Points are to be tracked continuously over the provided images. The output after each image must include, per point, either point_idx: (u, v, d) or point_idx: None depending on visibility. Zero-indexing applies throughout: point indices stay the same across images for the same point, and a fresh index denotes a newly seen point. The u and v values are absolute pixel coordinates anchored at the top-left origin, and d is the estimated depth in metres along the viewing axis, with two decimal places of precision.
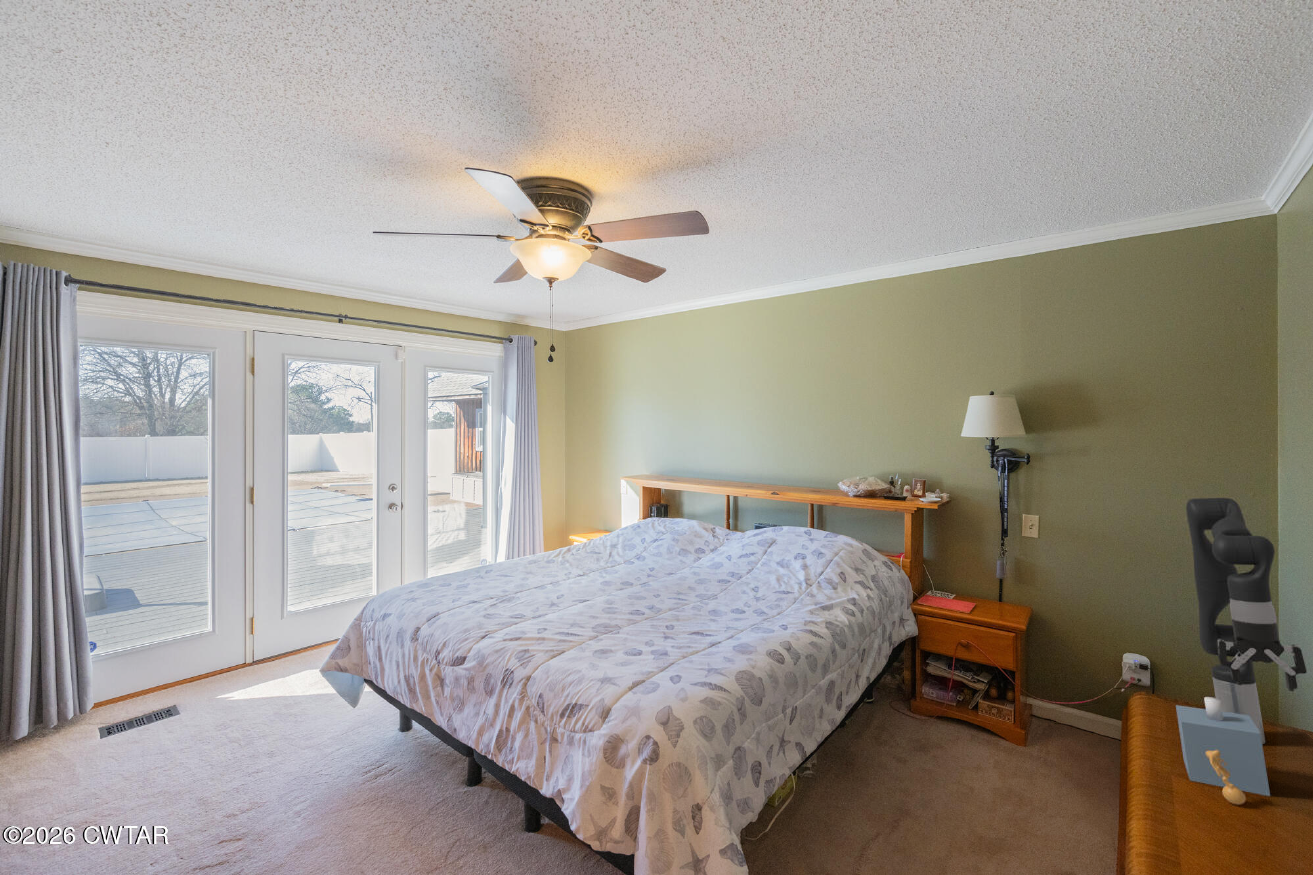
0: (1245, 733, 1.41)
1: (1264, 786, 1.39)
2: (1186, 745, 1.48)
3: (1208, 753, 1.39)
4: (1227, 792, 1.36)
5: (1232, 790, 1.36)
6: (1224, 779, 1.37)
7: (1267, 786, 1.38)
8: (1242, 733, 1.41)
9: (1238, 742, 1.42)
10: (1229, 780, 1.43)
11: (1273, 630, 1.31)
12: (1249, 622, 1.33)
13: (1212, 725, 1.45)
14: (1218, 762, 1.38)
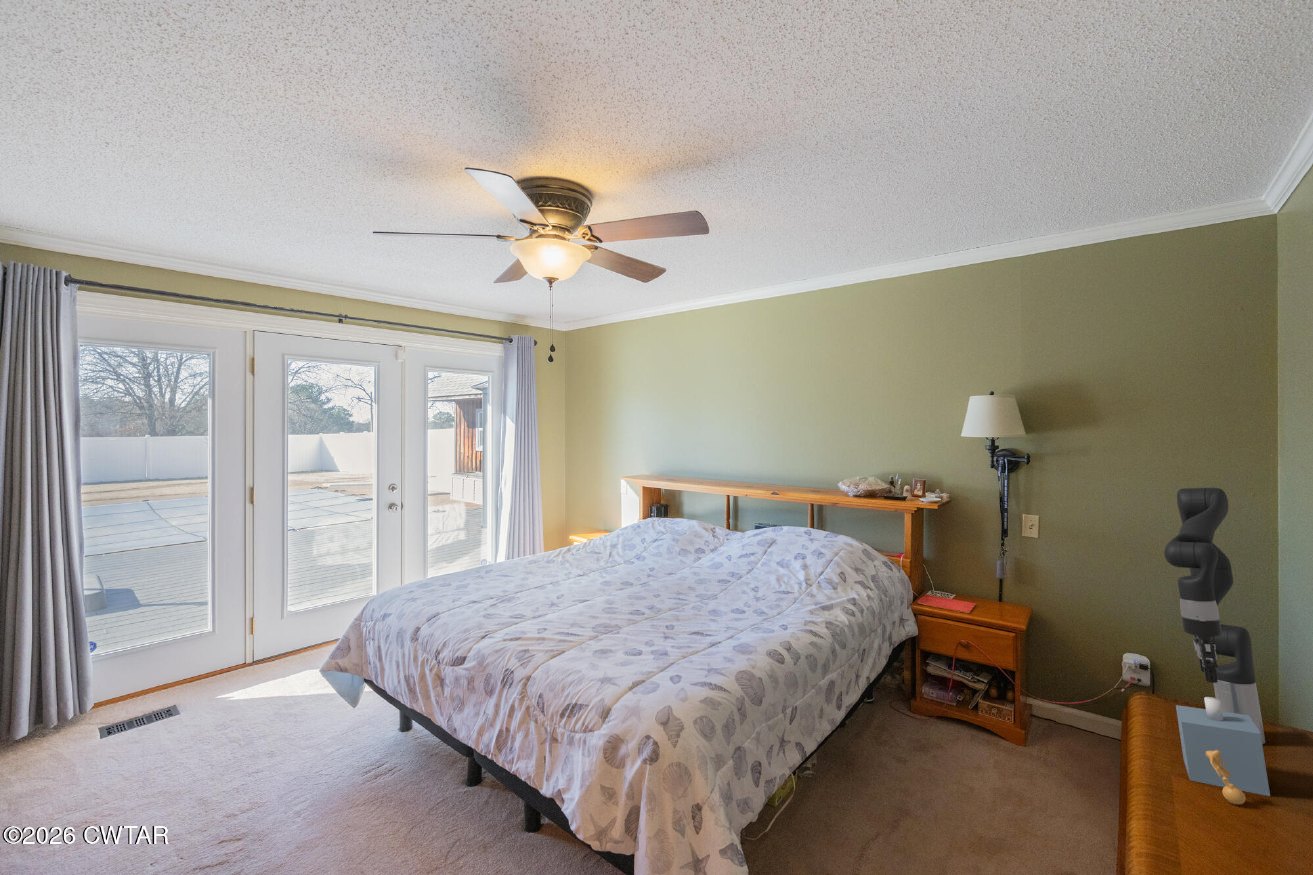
0: (1245, 733, 1.41)
1: (1264, 786, 1.39)
2: (1186, 745, 1.48)
3: (1208, 754, 1.39)
4: (1227, 792, 1.36)
5: (1233, 790, 1.36)
6: (1224, 779, 1.37)
7: (1267, 786, 1.38)
8: (1242, 733, 1.41)
9: (1238, 742, 1.42)
10: (1229, 780, 1.43)
11: None
12: (1219, 619, 1.48)
13: (1212, 725, 1.45)
14: (1218, 762, 1.38)
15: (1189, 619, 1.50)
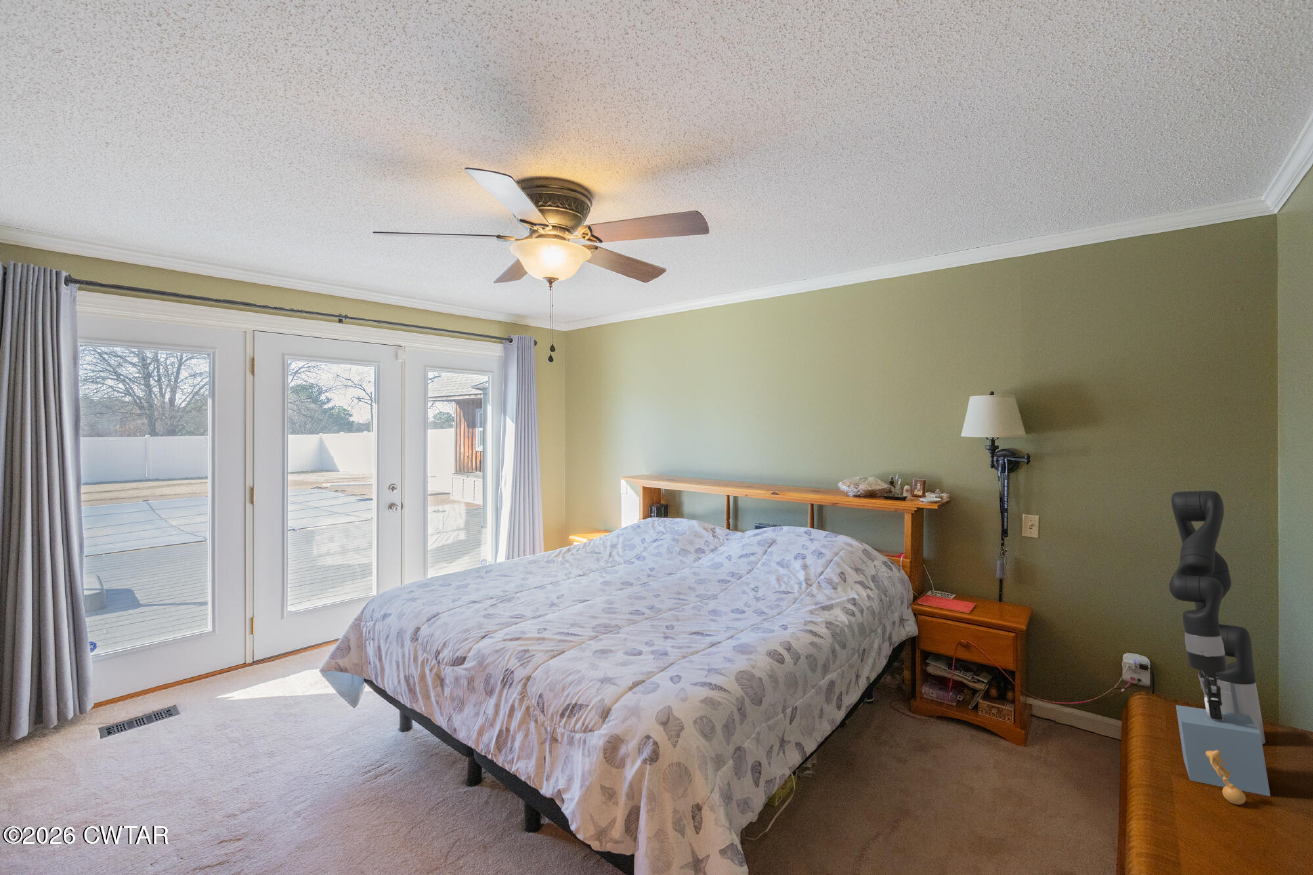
0: (1245, 733, 1.41)
1: (1264, 786, 1.39)
2: (1186, 745, 1.48)
3: (1208, 754, 1.39)
4: (1227, 792, 1.36)
5: (1232, 790, 1.36)
6: (1224, 779, 1.37)
7: (1267, 786, 1.38)
8: (1242, 733, 1.41)
9: (1238, 742, 1.42)
10: (1229, 780, 1.42)
11: None
12: (1224, 654, 1.47)
13: (1212, 725, 1.45)
14: (1218, 762, 1.38)
15: (1194, 654, 1.50)
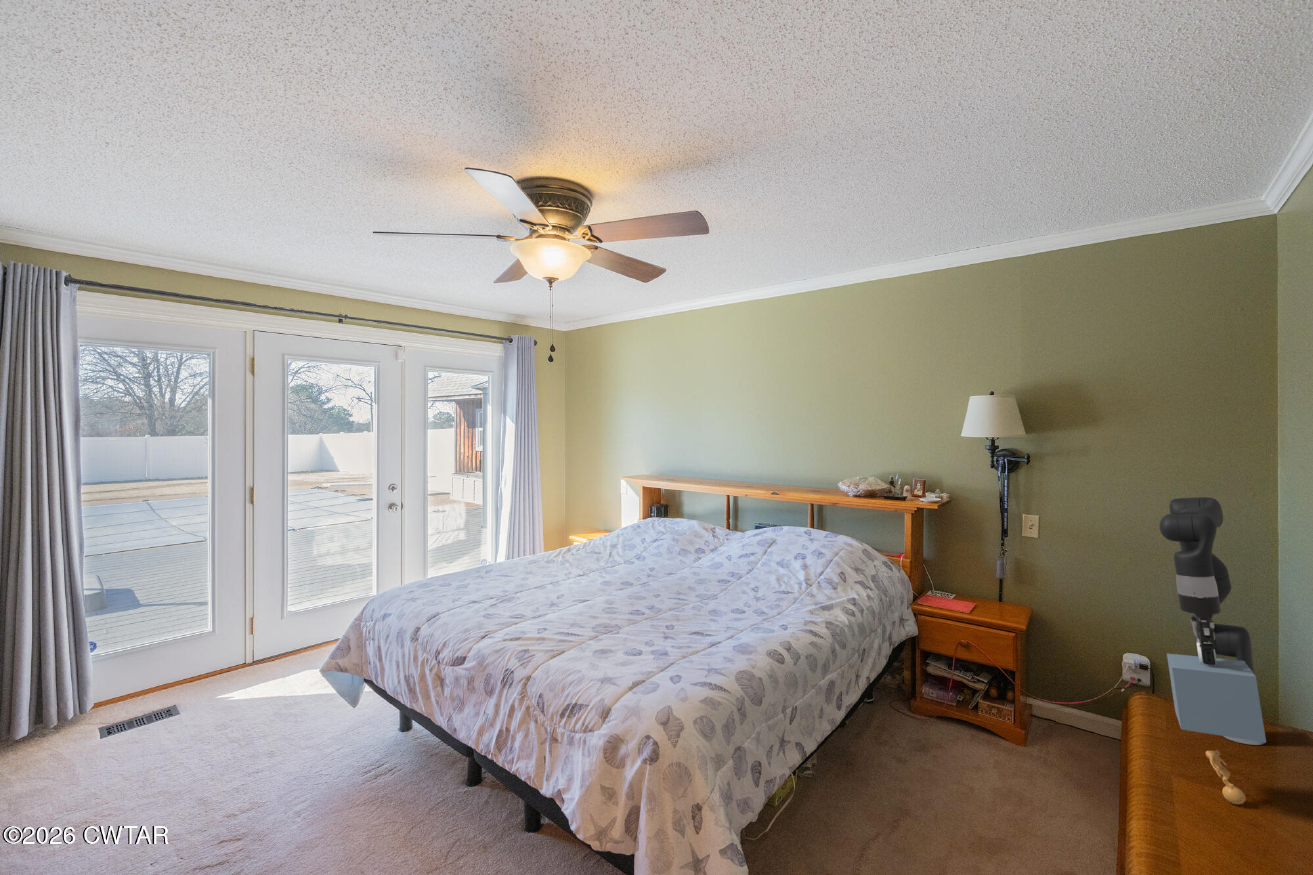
0: (1239, 677, 1.32)
1: (1260, 732, 1.30)
2: (1177, 692, 1.39)
3: (1208, 753, 1.39)
4: (1227, 792, 1.36)
5: (1232, 790, 1.36)
6: (1224, 779, 1.37)
7: (1263, 732, 1.30)
8: (1236, 676, 1.33)
9: (1232, 687, 1.33)
10: (1223, 727, 1.34)
11: None
12: (1218, 595, 1.38)
13: (1205, 670, 1.36)
14: (1218, 762, 1.38)
15: (1186, 596, 1.41)
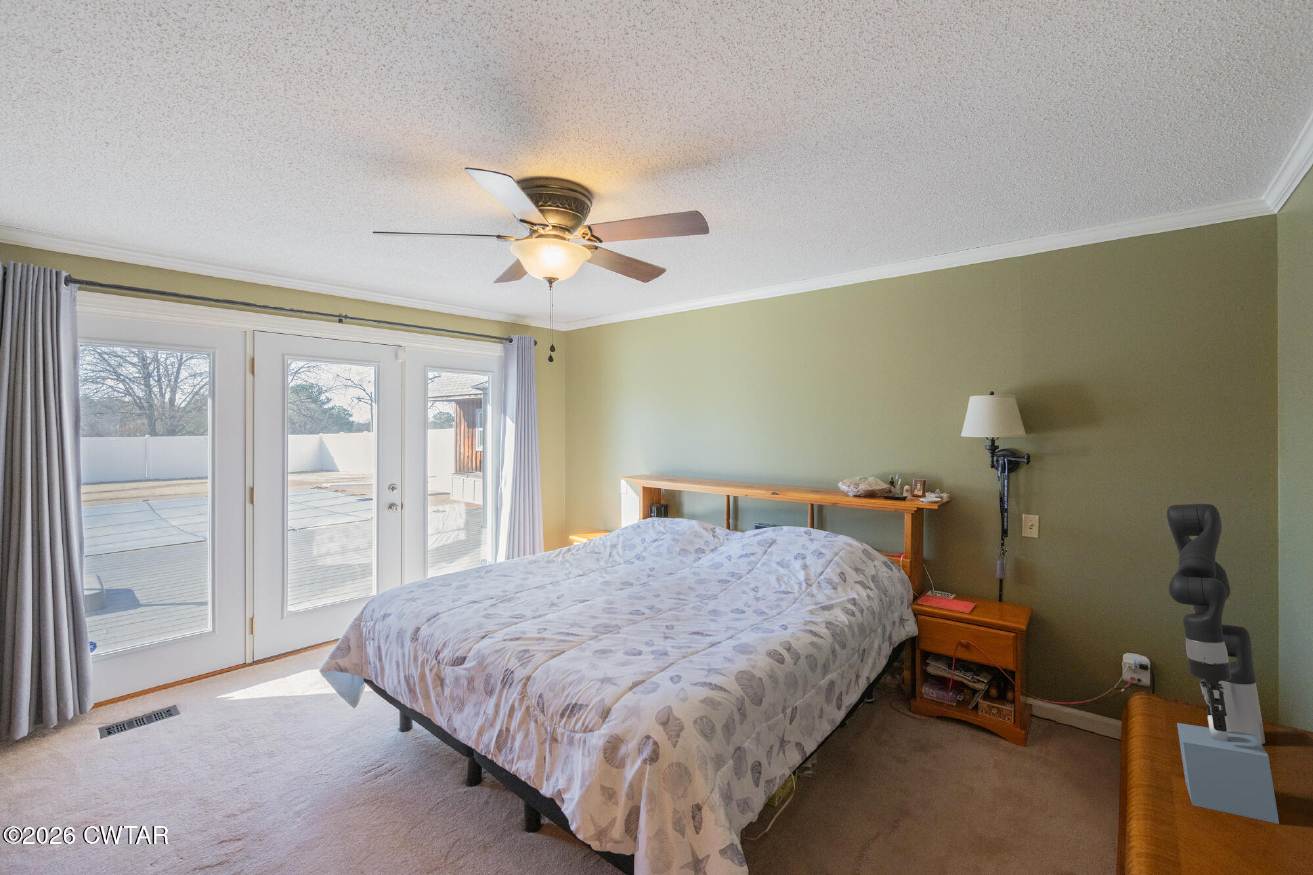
0: (1252, 755, 1.31)
1: (1272, 813, 1.28)
2: (1188, 767, 1.37)
3: None
4: None
5: None
6: None
7: (1276, 813, 1.28)
8: (1248, 755, 1.31)
9: (1244, 765, 1.31)
10: (1235, 806, 1.32)
11: None
12: (1228, 661, 1.37)
13: (1216, 747, 1.35)
14: None
15: (1196, 661, 1.39)
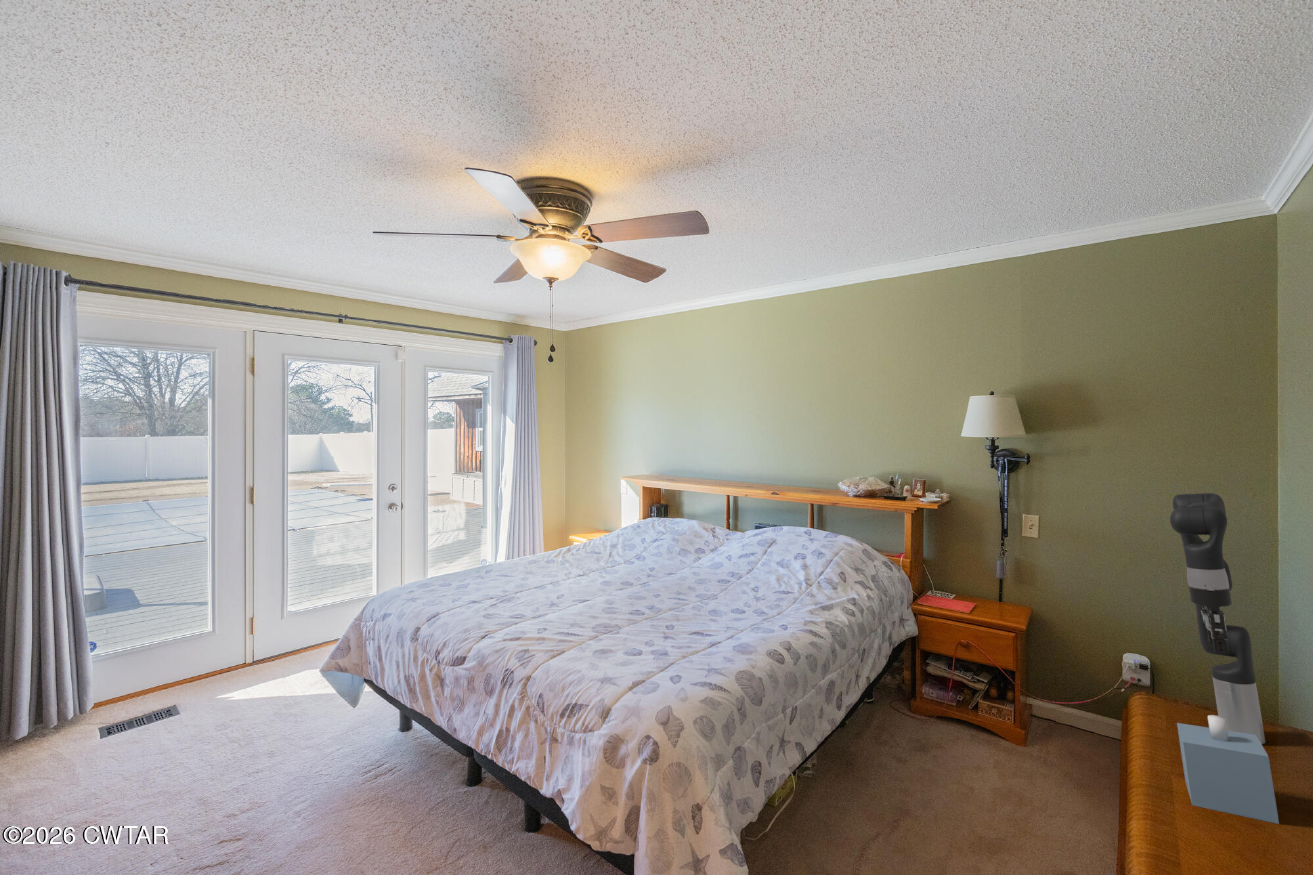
0: (1252, 755, 1.31)
1: (1272, 813, 1.28)
2: (1188, 767, 1.37)
3: None
4: None
5: None
6: None
7: (1276, 813, 1.28)
8: (1248, 755, 1.31)
9: (1244, 765, 1.31)
10: (1235, 806, 1.32)
11: None
12: (1228, 587, 1.39)
13: (1216, 747, 1.35)
14: None
15: (1197, 589, 1.42)
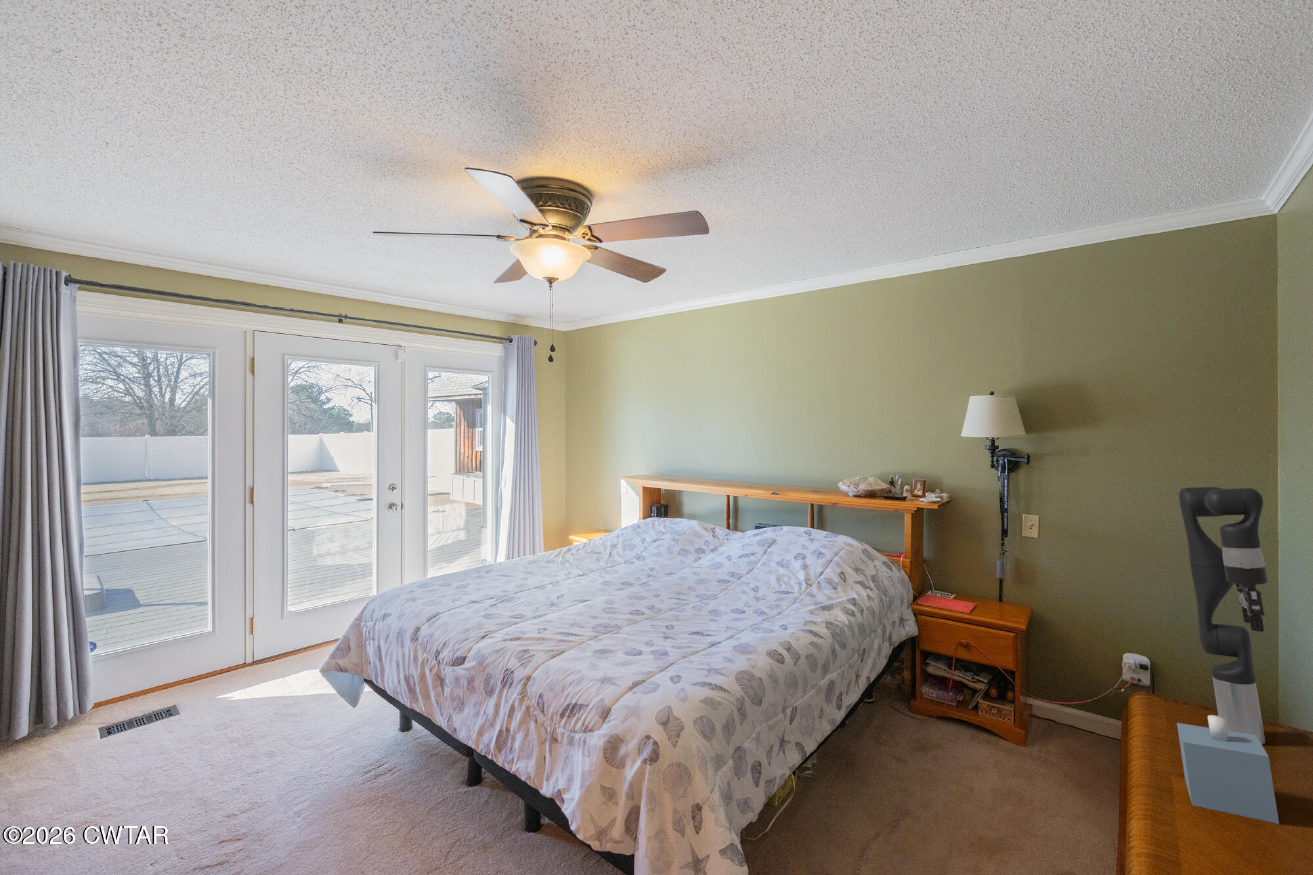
0: (1252, 755, 1.31)
1: (1272, 813, 1.28)
2: (1188, 767, 1.37)
3: None
4: None
5: None
6: None
7: (1276, 813, 1.28)
8: (1248, 755, 1.31)
9: (1244, 765, 1.31)
10: (1235, 806, 1.32)
11: None
12: (1264, 566, 1.43)
13: (1216, 747, 1.35)
14: None
15: (1233, 567, 1.45)
